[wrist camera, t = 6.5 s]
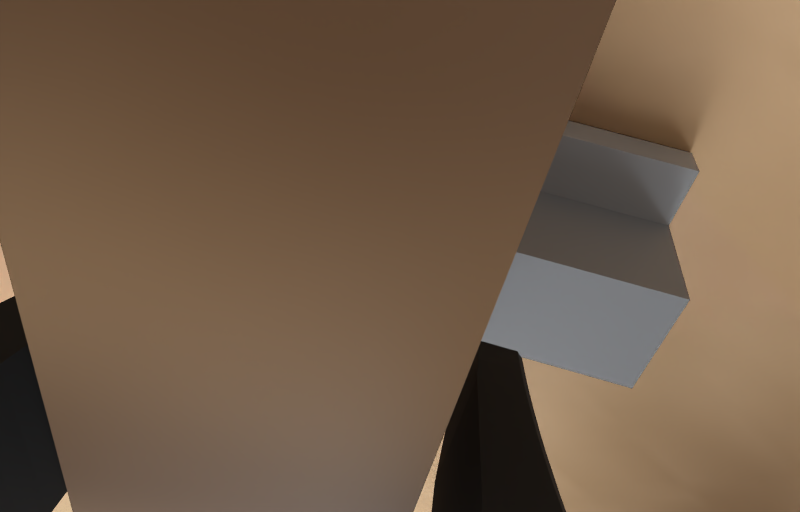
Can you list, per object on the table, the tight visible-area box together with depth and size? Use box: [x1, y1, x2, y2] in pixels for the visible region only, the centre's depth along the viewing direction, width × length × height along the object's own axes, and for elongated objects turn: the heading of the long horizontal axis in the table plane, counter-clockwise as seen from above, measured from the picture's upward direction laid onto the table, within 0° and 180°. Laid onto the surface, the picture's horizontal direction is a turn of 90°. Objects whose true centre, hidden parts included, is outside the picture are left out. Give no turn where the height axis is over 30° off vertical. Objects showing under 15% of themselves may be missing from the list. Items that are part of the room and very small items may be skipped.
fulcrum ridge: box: [481, 121, 699, 388], centre depth 13 cm, size 5×12×3 cm, turn 80°
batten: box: [0, 0, 616, 512], centre depth 9 cm, size 14×4×6 cm, turn 169°
